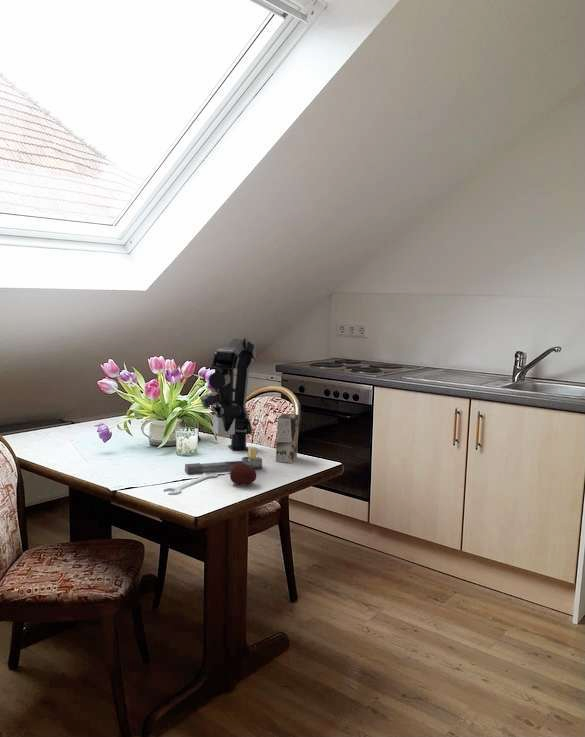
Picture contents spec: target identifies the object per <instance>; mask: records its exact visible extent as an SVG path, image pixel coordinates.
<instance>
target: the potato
mask: <svg viewBox="0 0 585 737" xmlns="http://www.w3.org/2000/svg"><path fill="white" fill-rule="evenodd" d="M256 471H257V470H254V469H253V468H252V467H251V466H249V465H247V464H245V463H237V464H236V465H234V466H233V468H232V469H231V471H229V472H230V473H229V478H230V481H231V482H232V483H233V484H235V485H240V486H246V485H247V486H248V485H251V484H253V483H254V482H255V481H256V479H257V472H256Z"/></svg>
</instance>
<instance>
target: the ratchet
mask: <svg viewBox="0 0 585 737" xmlns="http://www.w3.org/2000/svg"><path fill="white" fill-rule="evenodd" d="M247 447H248V449H247V456H244V457H242V458H241V460H235V461H222V462H221V461H220V462H208V463H200V462H199V463H198V462H197V463H185V464H184V471H185V473H186V475H194V474H196V473H197V474H203V473H217V472H220V473H221V472H231V469H232V468H233V466H234V465H236V464H237V463H245V464H247V465H249V466H251V467H252V468H253V469H254V470H255V471H260V470H262V468H263V459H262V457H258V456H257V447H255V446H251V447H250V446H247Z"/></svg>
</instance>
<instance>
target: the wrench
mask: <svg viewBox="0 0 585 737" xmlns="http://www.w3.org/2000/svg"><path fill="white" fill-rule="evenodd" d="M212 474H213V475H212ZM218 477H219V475H218V473H216V472H207V473H202V476H200V477H198V478H195V479H193V480H191V481H188V482H186V483H184V484H182V485H179V486H177V487H167V488H165V489H163V492H168V491H169V492H168V493H167V494H168V495H170V496H175V495H179V494H181V493H182V490H184V489H186V488H189V487H191V486H193V485H195V484H197V483H200V482H202V481H204V480H207V479H208V478H209V479H215V478H218ZM170 491H171V492H170Z"/></svg>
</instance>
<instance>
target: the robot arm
mask: <svg viewBox="0 0 585 737" xmlns="http://www.w3.org/2000/svg"><path fill="white" fill-rule="evenodd" d="M256 357H257V349H256V347H255V345H254V344H253V343H251V342H250V341H249V339H248V338H246V337H244V336H243V337H242V336H241V337H240V336H236V337H233V339H232V341H231V342H230V343H229V344H228V345H227V346H225V347H220V348H217V349H216V351H215V352H214V355H213V360H212V364H211V370H214V372H213V373H211V374H210V376H209V377H208V384H209V386H210V387H211V388H212V389H213V390H214V391H212V392H209V393H206V394H204V395H201V396H199V399H200V403H201V404H202V406H203V407H204V408H209V407H211V408H212V409H213V410H214V411H215V414H221V415H222V416H223V418H224V427H225V431H229V429H230V427H231V425H232V423H233V421H234V419H235V434H230V435H231V440H230V441H231V442H230V444H228V445H227V446H228V447H229V449H231V450H232V451H244V450H247V451H248V447H249V446H247V435H251V434H252V432H253V431H252V429H253V428H252V427H253V426H252V422H251V420H250V414H249V412H248V410H247V407H246V404H247V395H248V385H249V376H250V375H249V373H250V369H251V368H252V366H253V365H254V363H255V359H256ZM235 370H236V378H235ZM234 380H235V381H234ZM234 382H235V383H234ZM234 384H235V387H234Z"/></svg>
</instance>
